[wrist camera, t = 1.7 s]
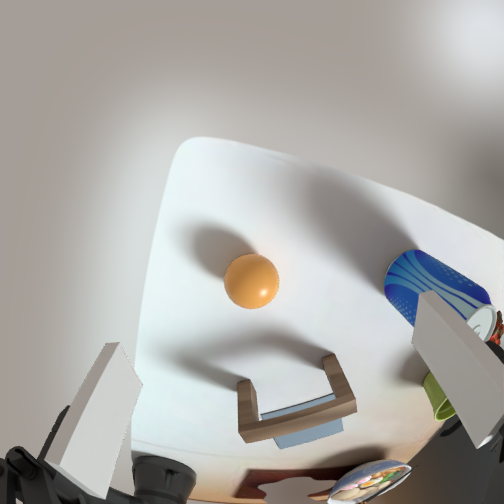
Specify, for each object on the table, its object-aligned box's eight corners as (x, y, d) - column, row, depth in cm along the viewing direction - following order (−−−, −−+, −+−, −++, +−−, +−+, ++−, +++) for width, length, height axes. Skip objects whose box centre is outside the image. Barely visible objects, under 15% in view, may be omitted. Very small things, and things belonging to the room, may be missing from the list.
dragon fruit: (457, 305, 40) (477, 317, 43) (453, 352, 37) (474, 356, 41) (496, 298, 32) (510, 311, 36) (494, 350, 29) (508, 354, 33)
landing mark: (280, 448, 46) (280, 449, 46) (261, 414, 42) (261, 415, 42) (343, 430, 45) (343, 430, 45) (336, 392, 41) (336, 393, 41)
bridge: (337, 366, 39) (357, 411, 30) (243, 394, 40) (246, 443, 31) (334, 353, 38) (355, 398, 29) (237, 382, 39) (238, 432, 30)
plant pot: (407, 388, 43) (426, 419, 35) (440, 351, 41) (464, 379, 33) (428, 396, 45) (446, 423, 37) (458, 363, 43) (480, 388, 34)
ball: (234, 299, 35) (234, 326, 29) (217, 256, 33) (213, 276, 27) (281, 285, 35) (289, 309, 29) (267, 240, 33) (273, 257, 27)
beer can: (368, 281, 35) (435, 351, 20) (408, 234, 33) (491, 280, 18) (399, 312, 37) (460, 378, 22) (435, 269, 35) (507, 320, 20)
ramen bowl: (369, 439, 48) (381, 466, 40) (419, 443, 52) (430, 464, 44) (301, 486, 53) (305, 510, 46) (357, 488, 58) (364, 507, 50)
